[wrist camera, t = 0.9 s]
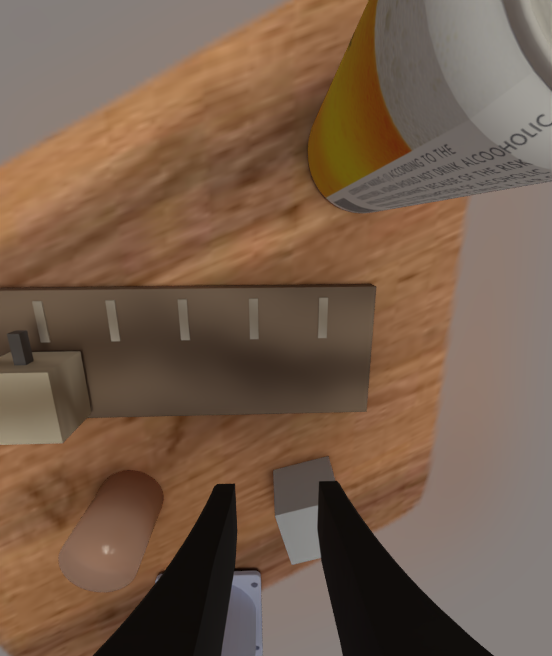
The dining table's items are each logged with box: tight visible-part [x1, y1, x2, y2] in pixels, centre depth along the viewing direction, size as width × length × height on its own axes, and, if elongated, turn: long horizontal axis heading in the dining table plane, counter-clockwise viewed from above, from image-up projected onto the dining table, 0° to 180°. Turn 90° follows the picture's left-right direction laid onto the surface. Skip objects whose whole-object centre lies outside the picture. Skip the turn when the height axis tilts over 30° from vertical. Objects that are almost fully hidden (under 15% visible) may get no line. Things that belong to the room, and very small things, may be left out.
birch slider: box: [0, 330, 91, 445], centre depth 18 cm, size 6×4×3 cm
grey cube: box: [273, 456, 335, 565], centre depth 22 cm, size 4×4×4 cm
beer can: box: [308, 0, 552, 213], centre depth 11 cm, size 6×6×15 cm
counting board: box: [0, 284, 376, 418], centre depth 20 cm, size 8×22×1 cm, turn 90°
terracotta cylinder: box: [59, 470, 164, 592], centre depth 21 cm, size 4×4×5 cm
